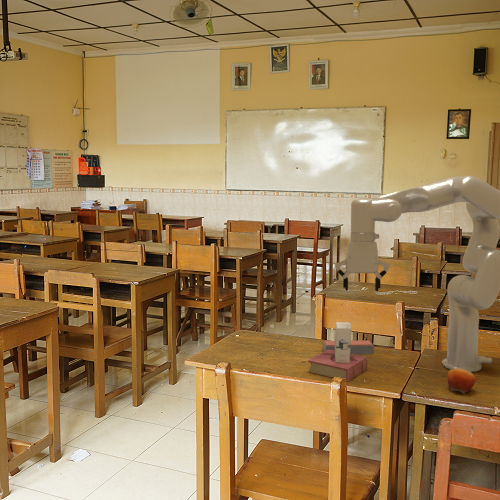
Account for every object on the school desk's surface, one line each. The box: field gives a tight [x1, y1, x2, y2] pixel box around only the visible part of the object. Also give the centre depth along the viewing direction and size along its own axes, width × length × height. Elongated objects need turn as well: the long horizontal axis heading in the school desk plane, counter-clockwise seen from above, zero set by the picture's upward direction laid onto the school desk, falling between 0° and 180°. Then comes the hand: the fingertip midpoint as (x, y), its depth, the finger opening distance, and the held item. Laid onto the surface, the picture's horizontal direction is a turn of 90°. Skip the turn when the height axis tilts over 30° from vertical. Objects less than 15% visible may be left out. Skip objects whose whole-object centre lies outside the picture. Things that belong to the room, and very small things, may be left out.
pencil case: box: [322, 340, 375, 355], centre depth 202 cm, size 18×6×3 cm, turn 93°
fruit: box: [446, 368, 477, 396], centre depth 163 cm, size 8×8×8 cm
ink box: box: [334, 321, 352, 363], centre depth 179 cm, size 9×5×12 cm, turn 173°
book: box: [307, 350, 368, 383], centre depth 181 cm, size 14×15×5 cm
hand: (361, 290), depth 175 cm, fingers open, 9 cm apart
